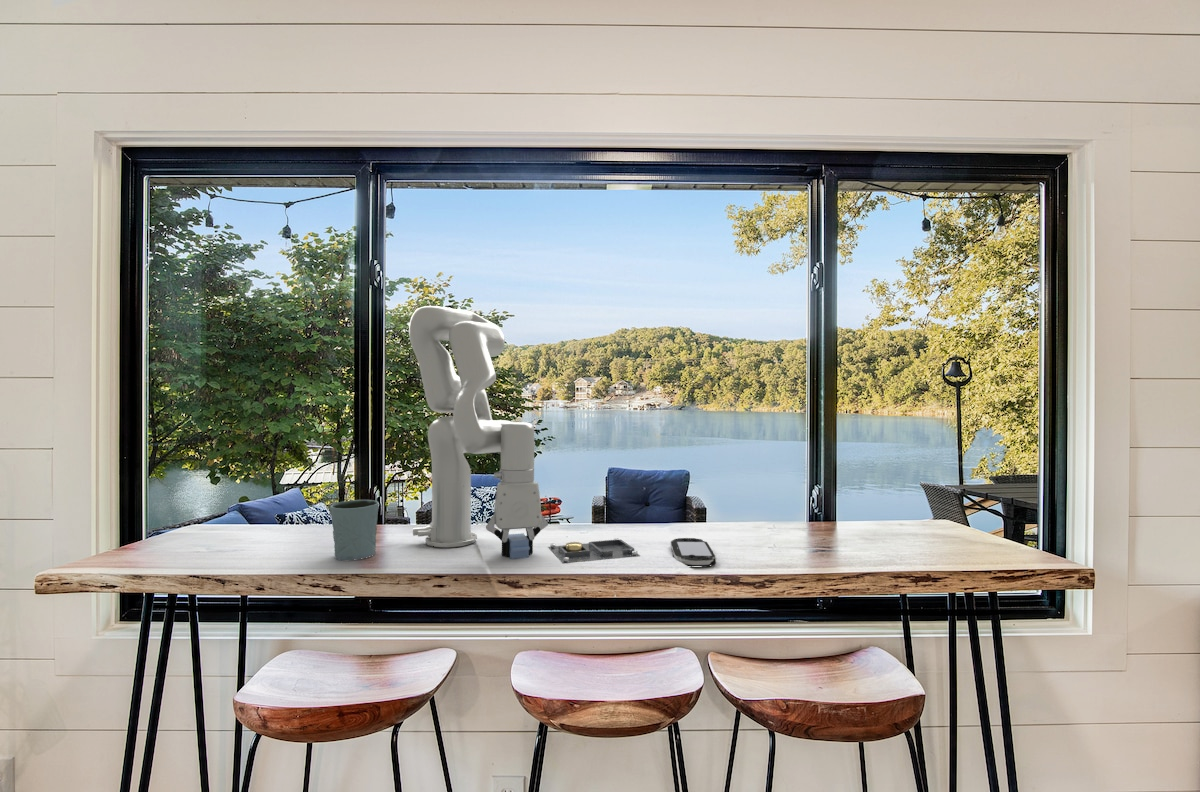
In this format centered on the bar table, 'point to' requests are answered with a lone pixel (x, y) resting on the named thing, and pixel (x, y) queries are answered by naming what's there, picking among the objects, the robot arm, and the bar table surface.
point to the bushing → (573, 546)
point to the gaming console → (693, 552)
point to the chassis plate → (595, 551)
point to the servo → (518, 545)
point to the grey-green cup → (354, 528)
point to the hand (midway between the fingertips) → (517, 556)
